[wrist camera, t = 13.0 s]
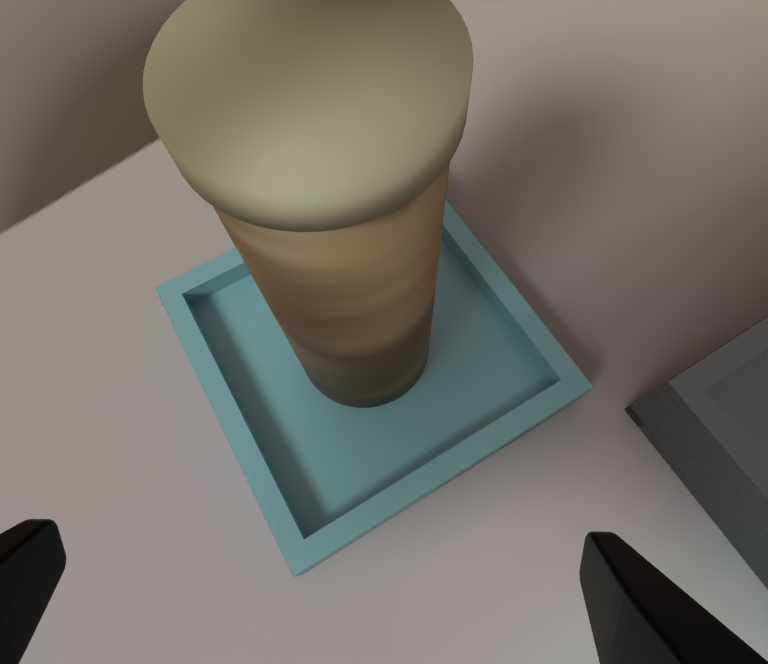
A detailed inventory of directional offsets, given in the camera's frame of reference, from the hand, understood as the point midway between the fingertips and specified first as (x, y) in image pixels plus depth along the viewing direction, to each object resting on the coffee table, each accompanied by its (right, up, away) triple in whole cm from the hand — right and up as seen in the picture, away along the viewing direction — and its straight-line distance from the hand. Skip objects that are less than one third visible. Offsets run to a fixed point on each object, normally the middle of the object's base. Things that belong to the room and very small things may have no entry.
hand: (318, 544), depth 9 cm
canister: (0, +3, +12) cm, 12 cm away
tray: (0, +3, +12) cm, 13 cm away
